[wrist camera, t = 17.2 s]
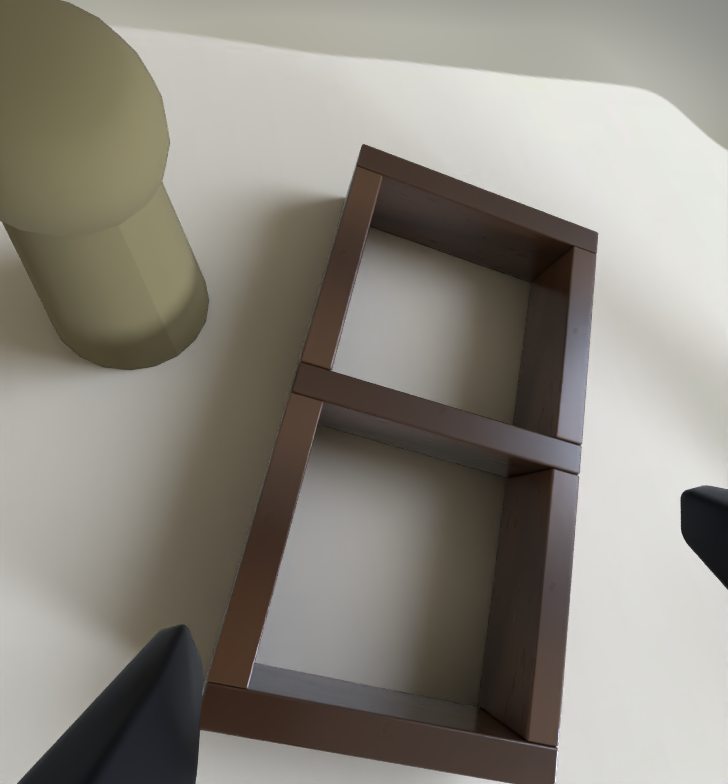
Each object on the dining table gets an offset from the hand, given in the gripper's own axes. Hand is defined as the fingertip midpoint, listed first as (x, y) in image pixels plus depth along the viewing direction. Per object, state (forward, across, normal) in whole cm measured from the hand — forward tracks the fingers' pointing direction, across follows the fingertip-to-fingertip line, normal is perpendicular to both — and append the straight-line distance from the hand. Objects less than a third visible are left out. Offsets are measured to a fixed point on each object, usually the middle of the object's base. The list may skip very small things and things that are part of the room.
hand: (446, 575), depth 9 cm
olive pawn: (+14, +8, -5) cm, 17 cm away
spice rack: (+12, -2, +3) cm, 13 cm away
